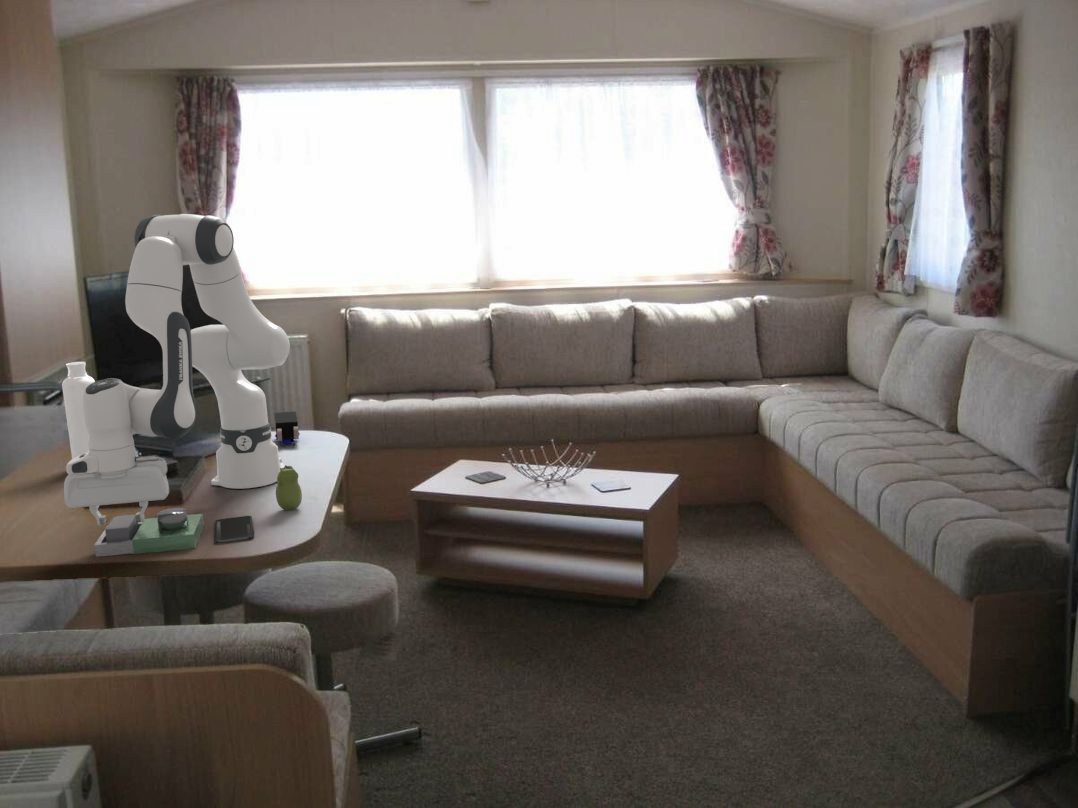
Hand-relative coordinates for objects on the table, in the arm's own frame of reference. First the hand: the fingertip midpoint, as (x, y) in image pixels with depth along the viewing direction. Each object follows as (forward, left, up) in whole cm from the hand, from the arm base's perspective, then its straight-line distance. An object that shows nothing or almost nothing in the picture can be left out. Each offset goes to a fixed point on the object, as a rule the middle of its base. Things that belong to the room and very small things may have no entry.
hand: (121, 523), depth 232 cm
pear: (-14, +33, -5) cm, 36 cm away
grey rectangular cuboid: (0, 0, -5) cm, 5 cm away
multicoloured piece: (0, +5, -5) cm, 7 cm away
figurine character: (-80, +29, -5) cm, 85 cm away
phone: (-2, +22, -5) cm, 23 cm away
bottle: (-69, -22, -5) cm, 73 cm away
